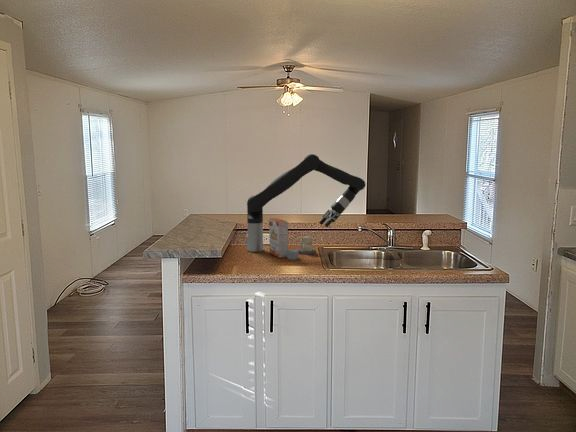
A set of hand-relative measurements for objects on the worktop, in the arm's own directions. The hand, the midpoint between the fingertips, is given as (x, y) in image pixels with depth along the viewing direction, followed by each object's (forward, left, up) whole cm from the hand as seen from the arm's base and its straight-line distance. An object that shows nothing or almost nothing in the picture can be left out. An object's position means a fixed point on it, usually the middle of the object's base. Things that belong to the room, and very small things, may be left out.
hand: (322, 225), depth 289 cm
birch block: (-6, -9, -15) cm, 18 cm away
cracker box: (-15, -24, -16) cm, 33 cm away
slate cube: (-4, -25, -16) cm, 30 cm away
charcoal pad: (-6, -9, -16) cm, 19 cm away
